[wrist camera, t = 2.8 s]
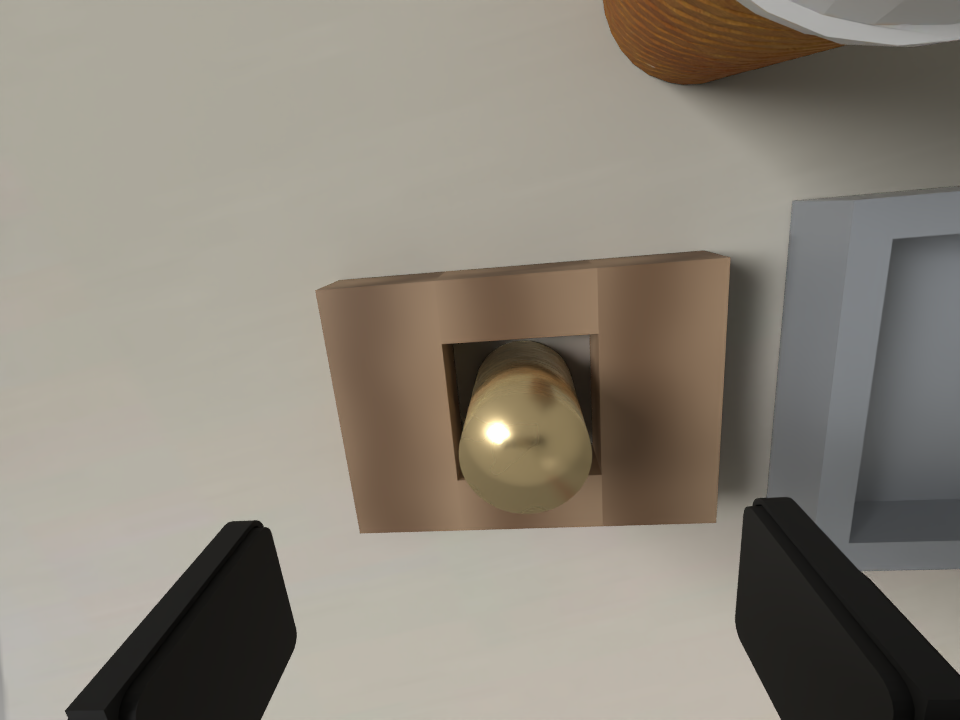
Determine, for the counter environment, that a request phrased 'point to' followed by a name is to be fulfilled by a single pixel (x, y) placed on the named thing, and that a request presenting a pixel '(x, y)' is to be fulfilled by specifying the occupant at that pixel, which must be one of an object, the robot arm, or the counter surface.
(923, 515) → the slate tray
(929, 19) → the disposable coffee cup
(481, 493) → the pin
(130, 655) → the robot arm
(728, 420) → the counter surface
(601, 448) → the block
